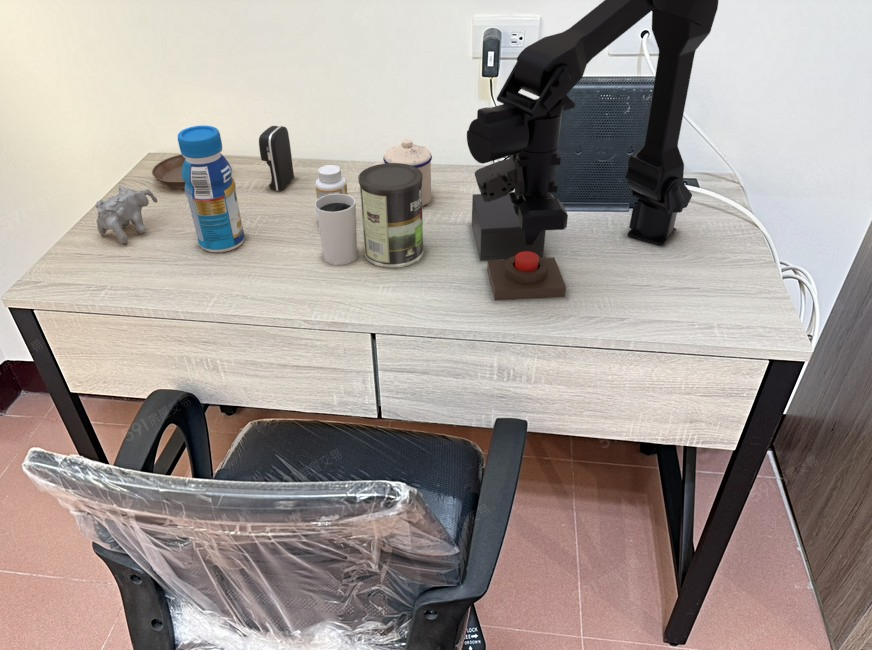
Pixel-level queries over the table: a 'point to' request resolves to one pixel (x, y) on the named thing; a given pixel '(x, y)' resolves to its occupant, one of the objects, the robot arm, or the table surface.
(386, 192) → the coffee can
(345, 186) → the supplement bottle
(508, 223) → the lid
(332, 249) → the white coffee mug
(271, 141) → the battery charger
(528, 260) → the release button
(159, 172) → the saucer
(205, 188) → the beverage bottle
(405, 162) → the cream enamel canister
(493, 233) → the black box
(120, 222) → the gray elephant figurine
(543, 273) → the brown button base
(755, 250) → the table surface
